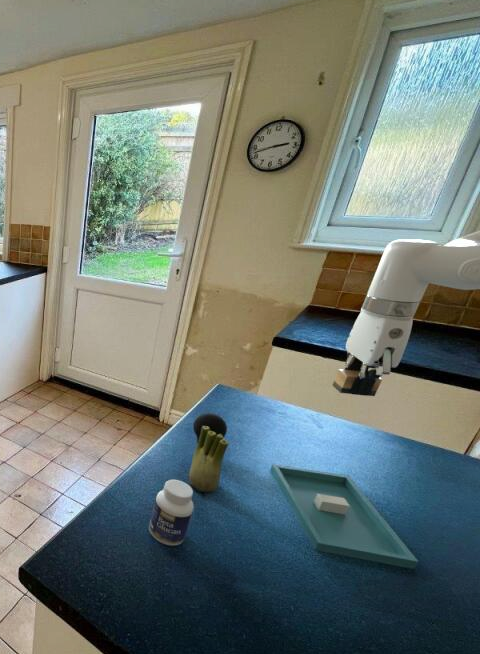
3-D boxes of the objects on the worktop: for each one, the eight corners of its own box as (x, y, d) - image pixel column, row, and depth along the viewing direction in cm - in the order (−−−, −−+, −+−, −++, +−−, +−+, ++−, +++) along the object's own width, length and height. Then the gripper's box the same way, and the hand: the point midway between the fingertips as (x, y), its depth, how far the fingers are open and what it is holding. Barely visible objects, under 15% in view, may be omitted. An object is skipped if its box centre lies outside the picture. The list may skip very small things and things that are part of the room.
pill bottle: (149, 542, 67) (161, 495, 62) (147, 517, 71) (158, 473, 67) (186, 550, 65) (201, 503, 61) (181, 525, 70) (195, 480, 66)
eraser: (365, 388, 89) (372, 371, 87) (374, 396, 86) (382, 379, 84) (332, 385, 91) (338, 368, 89) (340, 393, 87) (347, 376, 86)
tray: (344, 484, 79) (349, 475, 78) (412, 571, 62) (419, 561, 61) (268, 472, 82) (272, 464, 81) (313, 552, 65) (318, 542, 64)
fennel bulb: (184, 473, 81) (198, 422, 76) (211, 478, 80) (228, 426, 75) (189, 494, 76) (205, 440, 71) (219, 499, 75) (237, 445, 70)
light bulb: (181, 446, 89) (192, 407, 85) (210, 448, 89) (222, 408, 84) (192, 464, 84) (204, 422, 80) (222, 465, 84) (236, 424, 79)
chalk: (339, 506, 73) (344, 497, 72) (345, 514, 71) (350, 506, 70) (313, 502, 74) (317, 493, 73) (318, 510, 72) (322, 501, 71)
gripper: (444, 321, 72) (399, 411, 80) (387, 296, 87) (353, 374, 94) (391, 318, 74) (352, 406, 82) (344, 294, 88) (315, 371, 96)
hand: (353, 388), depth 88 cm, fingers closed on eraser, 3 cm apart
